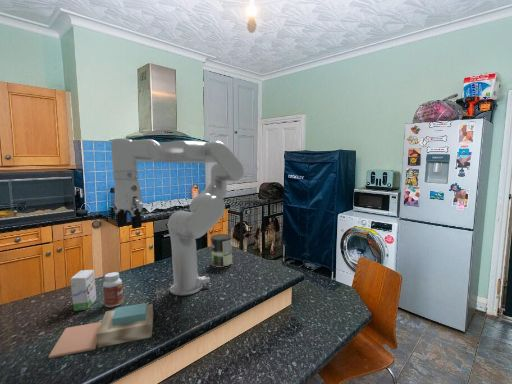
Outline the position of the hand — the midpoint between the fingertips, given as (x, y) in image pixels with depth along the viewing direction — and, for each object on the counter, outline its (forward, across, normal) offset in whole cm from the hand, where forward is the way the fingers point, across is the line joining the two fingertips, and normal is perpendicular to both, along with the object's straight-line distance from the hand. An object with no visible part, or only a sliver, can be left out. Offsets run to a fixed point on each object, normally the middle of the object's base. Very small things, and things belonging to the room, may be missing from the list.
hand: (129, 226), depth 98 cm
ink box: (+30, +18, +9) cm, 36 cm away
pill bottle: (+30, +10, +3) cm, 31 cm away
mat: (+29, -4, +19) cm, 35 cm away
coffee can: (+29, +6, -49) cm, 57 cm away
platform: (+29, -11, +8) cm, 32 cm away
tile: (+25, -12, +8) cm, 29 cm away
